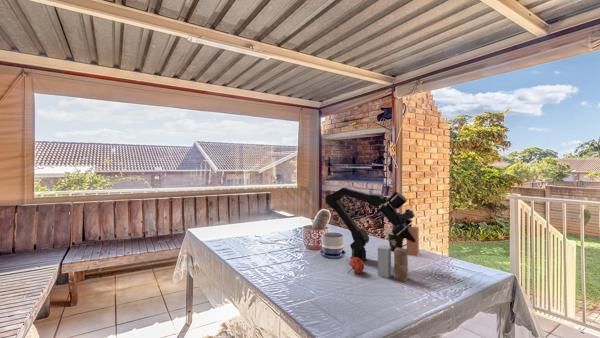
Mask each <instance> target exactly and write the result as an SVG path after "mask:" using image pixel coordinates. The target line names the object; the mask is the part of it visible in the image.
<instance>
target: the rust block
mask: <svg viewBox="0 0 600 338" xmlns="http://www.w3.org/2000/svg"><path fill="white" fill-rule="evenodd" d="M419 229H420V227H418V226H412V227H410V226H408V231H409V232H410V234H411V235H412V236H413V238H414V239H415V242H412V241H410V240H408V239H406V244H407V245H406V249H407V256H413V257H418V256H419V254H420V250H419V248H420V247H419V246H420V243H419V240H420V237H419V235H420V234H419V232H420V231H419Z"/></svg>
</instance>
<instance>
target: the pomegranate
mask: <svg viewBox="0 0 600 338" xmlns="http://www.w3.org/2000/svg"><path fill="white" fill-rule="evenodd" d="M363 259H364V258H363ZM363 259H360V258H357V257H353V258H352V259H351V258H350V259H349V263H348V264H349V266H350V267H351V269H350V270H349V271H348V272H347V274H349V273H350V272H351V271H352V270H353V271H354V272H356V274H357V275H358V274H361V273H363V271H364V270H365V263H364V261H363Z"/></svg>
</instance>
